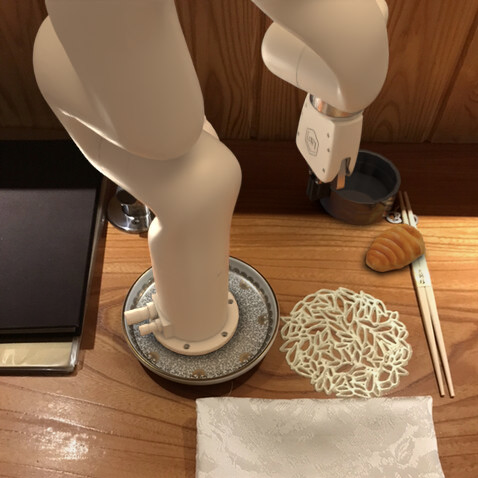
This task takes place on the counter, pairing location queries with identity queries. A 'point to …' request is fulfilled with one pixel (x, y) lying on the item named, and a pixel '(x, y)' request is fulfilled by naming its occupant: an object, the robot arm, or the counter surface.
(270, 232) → the counter surface
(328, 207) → the pot
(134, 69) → the robot arm
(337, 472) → the counter surface
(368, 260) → the pastry
